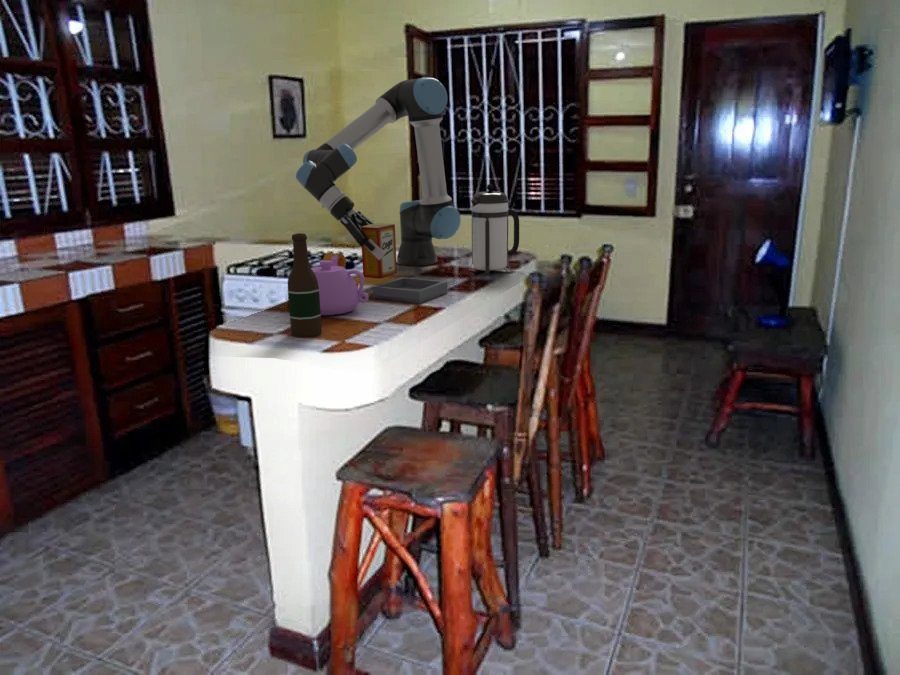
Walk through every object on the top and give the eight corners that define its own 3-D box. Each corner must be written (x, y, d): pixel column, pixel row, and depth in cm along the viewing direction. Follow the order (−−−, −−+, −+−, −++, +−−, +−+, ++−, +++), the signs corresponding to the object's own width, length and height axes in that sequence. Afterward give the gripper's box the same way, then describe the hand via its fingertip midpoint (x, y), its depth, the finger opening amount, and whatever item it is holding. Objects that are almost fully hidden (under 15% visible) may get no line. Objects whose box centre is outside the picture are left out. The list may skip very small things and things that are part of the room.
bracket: (338, 297, 207) (336, 257, 204) (319, 295, 211) (316, 256, 207) (359, 290, 216) (357, 252, 213) (340, 288, 220) (338, 250, 216)
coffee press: (509, 276, 234) (510, 185, 226) (463, 275, 238) (462, 185, 230) (519, 267, 250) (520, 182, 242) (475, 266, 254) (475, 182, 246)
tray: (403, 288, 219) (402, 277, 218) (447, 292, 211) (447, 281, 210) (373, 298, 205) (372, 286, 204) (419, 303, 198) (419, 291, 197)
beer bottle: (285, 337, 166) (276, 236, 159) (297, 328, 173) (289, 231, 166) (316, 338, 164) (309, 236, 158) (327, 329, 172) (320, 231, 165)
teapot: (375, 300, 203) (373, 252, 199) (364, 318, 182) (362, 266, 179) (300, 300, 204) (296, 253, 200) (281, 319, 183) (276, 267, 179)
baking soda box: (379, 271, 227) (377, 222, 222) (397, 273, 224) (394, 222, 219) (363, 277, 219) (360, 225, 214) (380, 278, 216) (378, 226, 211)
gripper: (343, 208, 230) (391, 255, 231) (315, 216, 208) (368, 269, 209) (357, 191, 227) (405, 239, 228) (331, 198, 205) (384, 251, 206)
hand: (387, 253), depth 219 cm, fingers closed on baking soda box, 11 cm apart
